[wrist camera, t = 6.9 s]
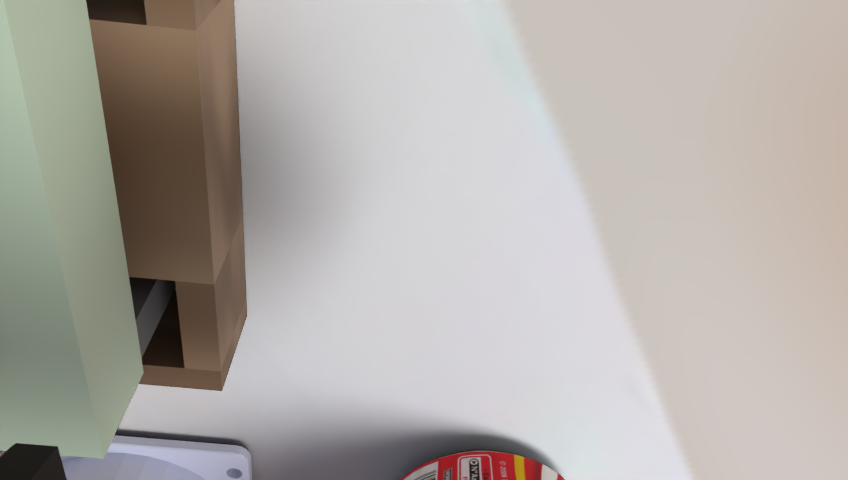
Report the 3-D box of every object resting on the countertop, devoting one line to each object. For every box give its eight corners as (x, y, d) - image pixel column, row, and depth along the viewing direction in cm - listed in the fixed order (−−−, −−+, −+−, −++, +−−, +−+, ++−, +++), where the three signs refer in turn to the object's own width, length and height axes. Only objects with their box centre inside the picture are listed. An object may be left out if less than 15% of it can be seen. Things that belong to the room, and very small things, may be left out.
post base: (247, 315, 21) (221, 391, 19) (38, 296, 21) (-15, 370, 19) (225, -199, 14) (179, -187, 12) (-95, -238, 14) (-211, -233, 11)
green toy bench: (191, 271, 21) (103, 458, 15) (82, 260, 20) (-45, 446, 15) (154, -121, 15) (-5, -42, 10) (4, -138, 15) (-244, -69, 9)
